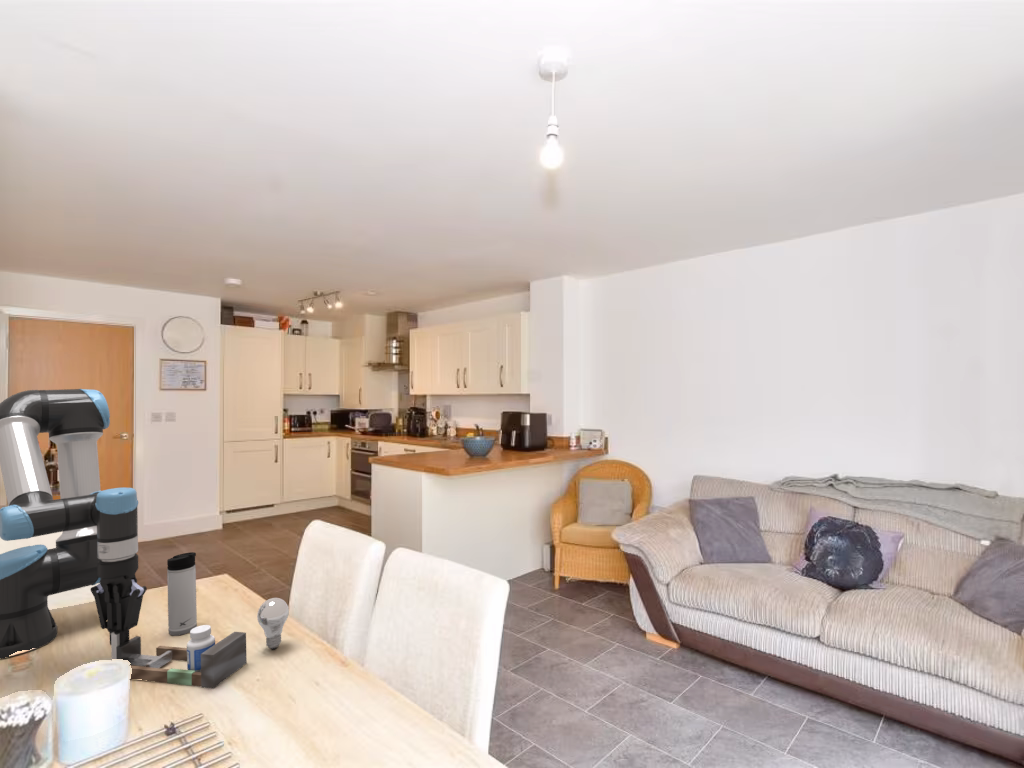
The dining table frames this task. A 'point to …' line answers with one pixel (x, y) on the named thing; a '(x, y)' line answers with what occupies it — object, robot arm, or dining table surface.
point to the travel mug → (181, 594)
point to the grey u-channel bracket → (133, 654)
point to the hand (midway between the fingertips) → (119, 658)
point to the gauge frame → (213, 664)
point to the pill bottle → (198, 646)
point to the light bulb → (273, 620)
